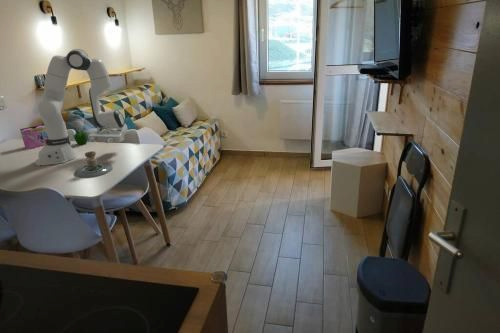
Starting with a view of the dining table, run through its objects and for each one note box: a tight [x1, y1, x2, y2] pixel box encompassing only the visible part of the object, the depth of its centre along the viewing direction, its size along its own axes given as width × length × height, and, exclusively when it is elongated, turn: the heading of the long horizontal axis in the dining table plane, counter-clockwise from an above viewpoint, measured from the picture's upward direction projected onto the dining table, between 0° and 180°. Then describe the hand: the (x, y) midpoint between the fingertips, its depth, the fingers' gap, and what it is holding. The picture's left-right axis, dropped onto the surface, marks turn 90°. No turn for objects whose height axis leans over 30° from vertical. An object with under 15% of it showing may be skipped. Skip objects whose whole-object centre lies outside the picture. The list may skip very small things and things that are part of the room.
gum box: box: [19, 123, 48, 150], centre depth 250 cm, size 24×8×14 cm, turn 137°
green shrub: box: [73, 129, 88, 146], centre depth 248 cm, size 8×8×10 cm
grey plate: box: [74, 162, 113, 179], centre depth 200 cm, size 20×20×2 cm
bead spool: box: [84, 150, 99, 171], centre depth 198 cm, size 6×6×10 cm
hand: (99, 141), depth 206 cm, fingers open, 8 cm apart
